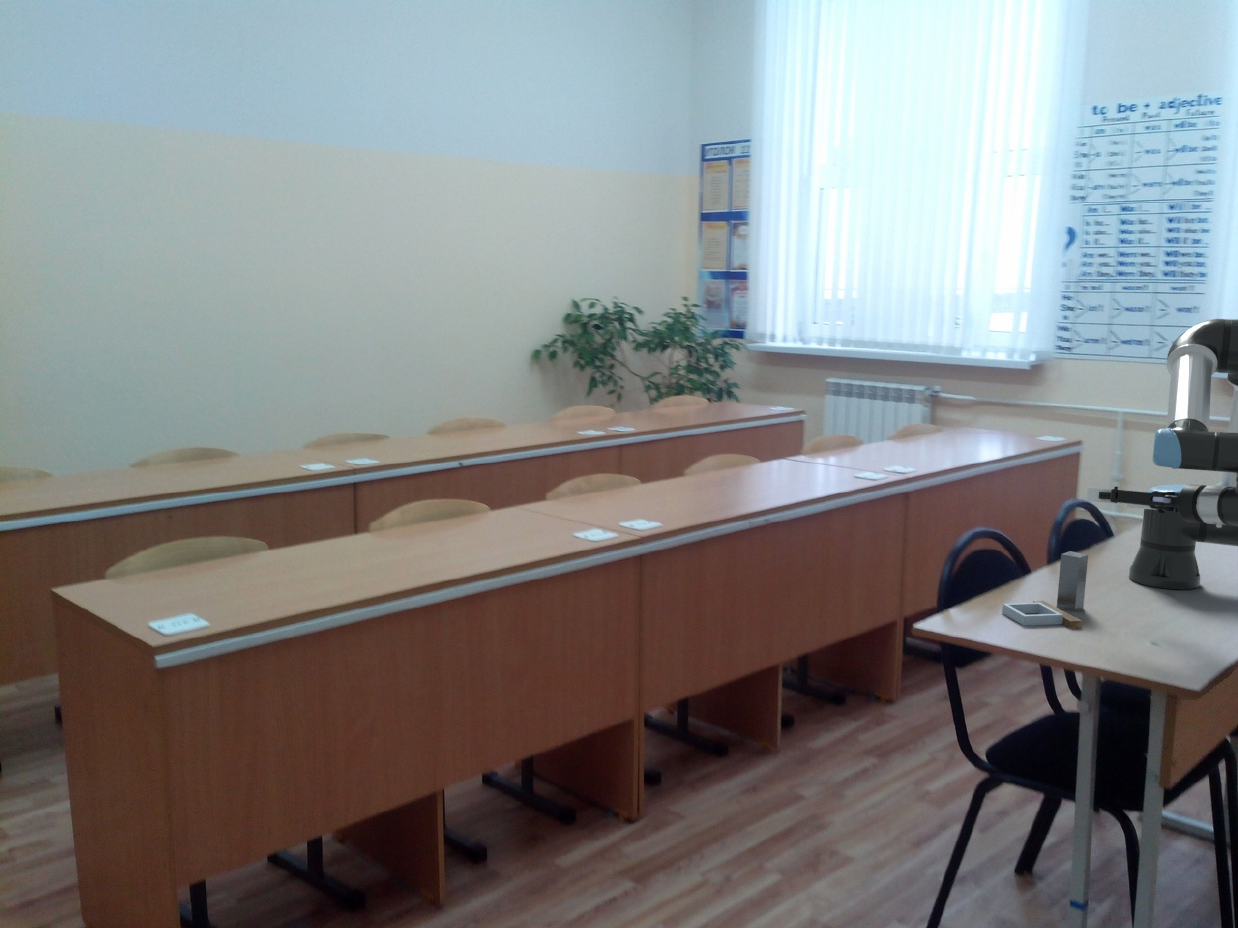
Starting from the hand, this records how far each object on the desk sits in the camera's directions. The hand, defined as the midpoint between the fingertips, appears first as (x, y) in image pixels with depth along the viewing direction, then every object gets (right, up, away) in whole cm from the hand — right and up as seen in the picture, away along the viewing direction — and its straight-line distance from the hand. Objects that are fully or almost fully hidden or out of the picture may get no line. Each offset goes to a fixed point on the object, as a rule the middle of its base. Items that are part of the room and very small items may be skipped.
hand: (1108, 498), depth 224 cm
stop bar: (-7, -24, +4) cm, 25 cm away
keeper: (-18, -25, -4) cm, 31 cm away
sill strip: (-12, -25, -3) cm, 28 cm away
